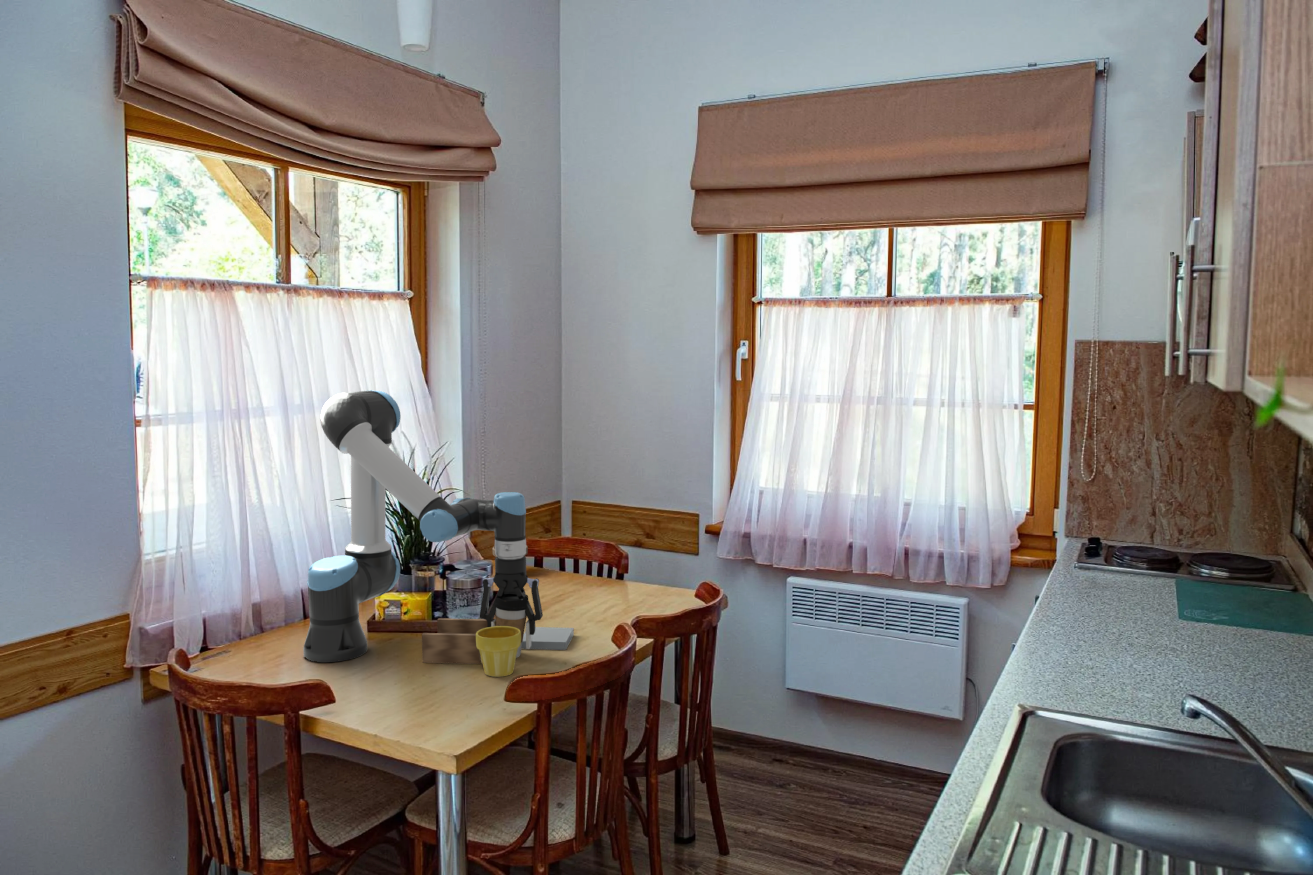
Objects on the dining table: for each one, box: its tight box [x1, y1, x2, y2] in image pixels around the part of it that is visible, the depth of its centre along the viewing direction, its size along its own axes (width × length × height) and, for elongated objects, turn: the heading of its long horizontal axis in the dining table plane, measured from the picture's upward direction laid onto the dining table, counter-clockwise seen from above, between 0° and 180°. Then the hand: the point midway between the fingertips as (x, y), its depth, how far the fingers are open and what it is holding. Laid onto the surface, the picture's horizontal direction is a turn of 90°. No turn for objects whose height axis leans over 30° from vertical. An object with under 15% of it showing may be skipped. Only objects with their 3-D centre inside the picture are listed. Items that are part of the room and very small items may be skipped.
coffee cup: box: [494, 593, 529, 659], centre depth 235 cm, size 8×8×15 cm
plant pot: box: [476, 626, 521, 678], centre depth 223 cm, size 10×10×10 cm
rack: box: [421, 617, 487, 665], centre depth 237 cm, size 14×13×7 cm
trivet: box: [521, 626, 575, 651], centre depth 246 cm, size 12×12×2 cm
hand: (511, 646), depth 236 cm, fingers open, 8 cm apart
